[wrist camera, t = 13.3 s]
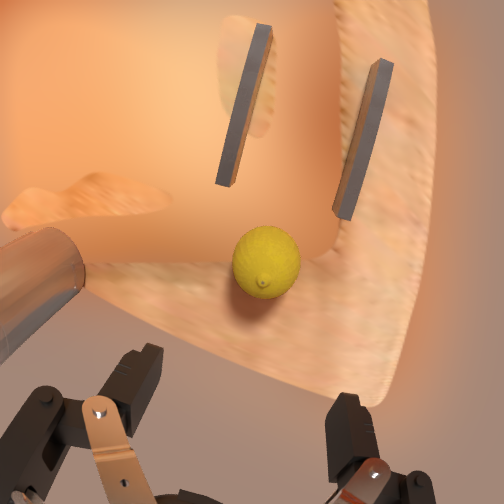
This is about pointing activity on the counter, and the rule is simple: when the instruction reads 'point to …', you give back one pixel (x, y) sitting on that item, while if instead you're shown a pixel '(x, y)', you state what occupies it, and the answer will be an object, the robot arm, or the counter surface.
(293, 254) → the lemon
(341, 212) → the guide channel
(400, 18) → the counter surface
